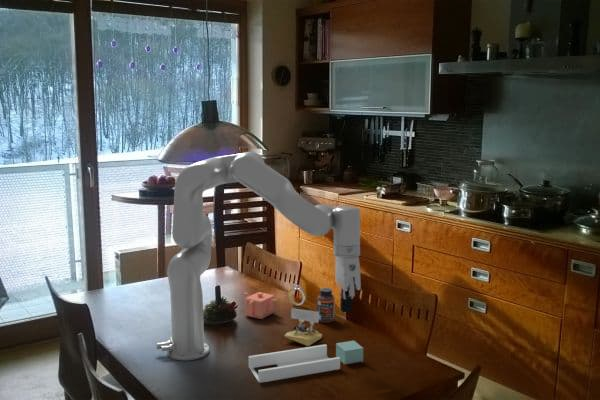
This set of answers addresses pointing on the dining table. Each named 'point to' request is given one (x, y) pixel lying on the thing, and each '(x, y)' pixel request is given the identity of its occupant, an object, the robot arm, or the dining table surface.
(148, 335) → the dining table surface
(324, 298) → the supplement bottle
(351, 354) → the green block
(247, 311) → the pink cube
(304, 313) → the figurine with sign
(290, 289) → the ring
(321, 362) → the trough
